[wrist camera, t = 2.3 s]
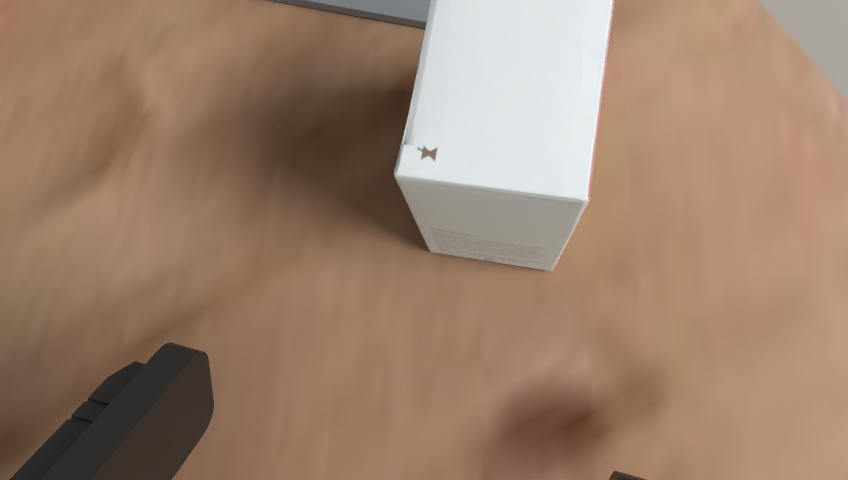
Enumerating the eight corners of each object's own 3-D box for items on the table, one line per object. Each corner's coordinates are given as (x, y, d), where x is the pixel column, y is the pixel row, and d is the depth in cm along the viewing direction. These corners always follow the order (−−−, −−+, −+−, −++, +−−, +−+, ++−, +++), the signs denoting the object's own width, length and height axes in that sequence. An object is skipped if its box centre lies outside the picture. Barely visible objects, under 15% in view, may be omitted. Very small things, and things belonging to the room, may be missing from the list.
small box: (553, 274, 27) (591, 210, 17) (426, 253, 28) (389, 180, 17) (577, 104, 28) (627, -51, 18) (457, 89, 29) (439, -67, 19)
